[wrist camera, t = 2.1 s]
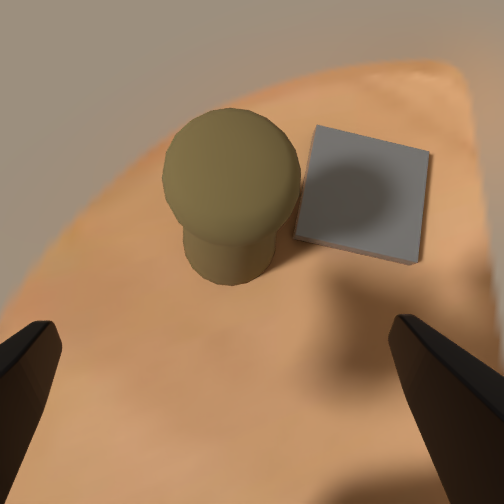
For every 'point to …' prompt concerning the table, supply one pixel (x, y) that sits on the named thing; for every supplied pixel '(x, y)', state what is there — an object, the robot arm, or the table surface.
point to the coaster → (363, 196)
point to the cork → (231, 192)
